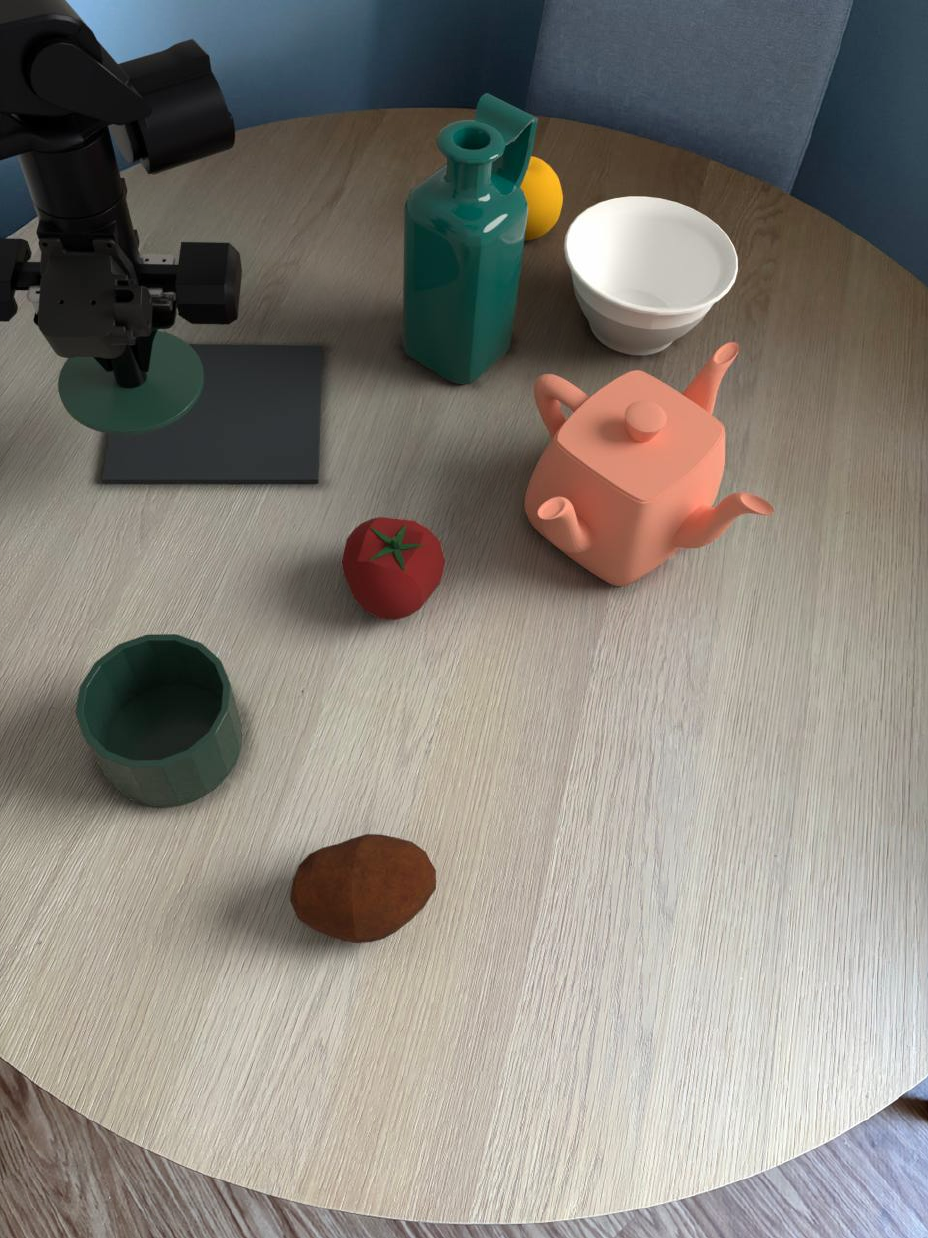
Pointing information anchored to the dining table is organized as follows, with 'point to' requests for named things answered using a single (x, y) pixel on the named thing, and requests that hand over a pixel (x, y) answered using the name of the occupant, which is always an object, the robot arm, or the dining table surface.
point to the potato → (362, 887)
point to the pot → (633, 471)
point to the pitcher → (467, 243)
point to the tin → (160, 719)
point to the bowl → (647, 270)
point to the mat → (234, 423)
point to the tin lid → (133, 388)
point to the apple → (541, 198)
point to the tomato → (392, 566)
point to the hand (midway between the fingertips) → (128, 367)
